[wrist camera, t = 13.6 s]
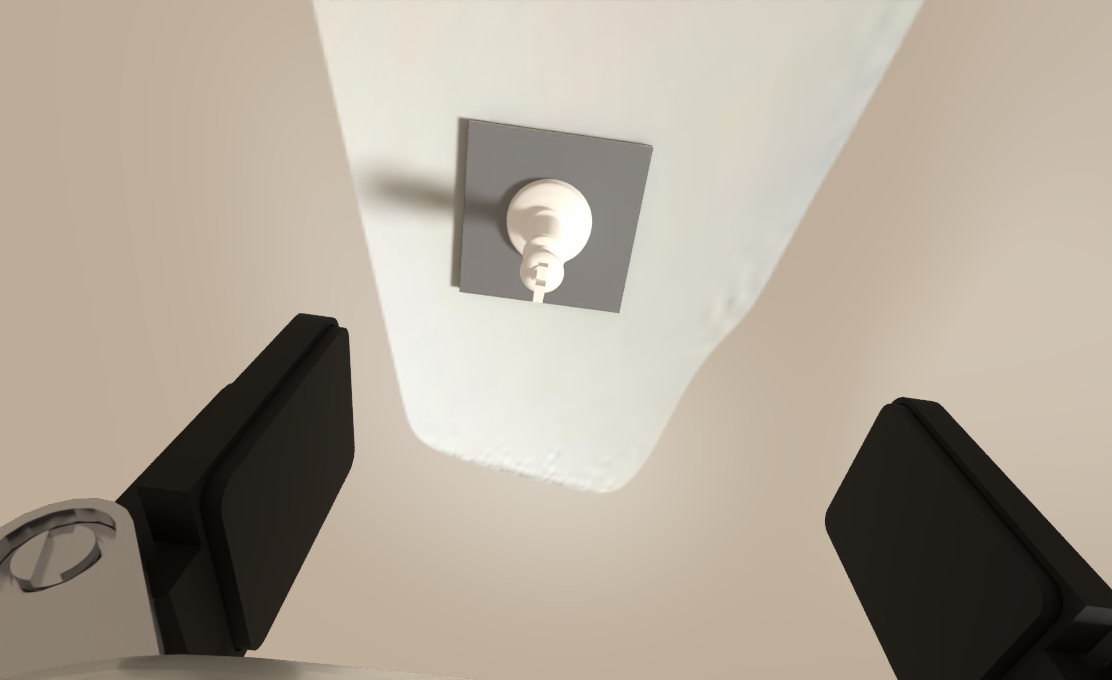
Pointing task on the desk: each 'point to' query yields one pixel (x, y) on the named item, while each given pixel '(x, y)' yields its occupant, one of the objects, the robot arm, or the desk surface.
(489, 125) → the coaster
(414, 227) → the desk surface
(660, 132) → the desk surface
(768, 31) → the desk surface
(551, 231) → the chess piece
